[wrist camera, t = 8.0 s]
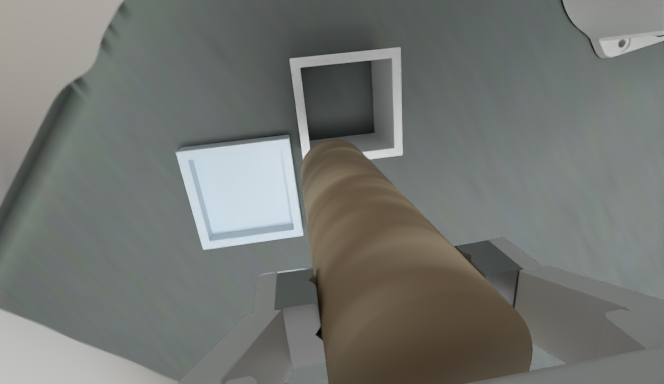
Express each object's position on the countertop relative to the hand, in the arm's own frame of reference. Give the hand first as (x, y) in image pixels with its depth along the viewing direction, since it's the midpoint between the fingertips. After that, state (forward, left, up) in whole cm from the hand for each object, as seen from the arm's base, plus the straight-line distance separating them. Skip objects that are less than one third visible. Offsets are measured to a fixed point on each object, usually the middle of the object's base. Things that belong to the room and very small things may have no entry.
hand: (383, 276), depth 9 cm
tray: (+9, +7, -30) cm, 32 cm away
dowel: (0, 0, -11) cm, 11 cm away
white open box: (-3, -2, -30) cm, 30 cm away
